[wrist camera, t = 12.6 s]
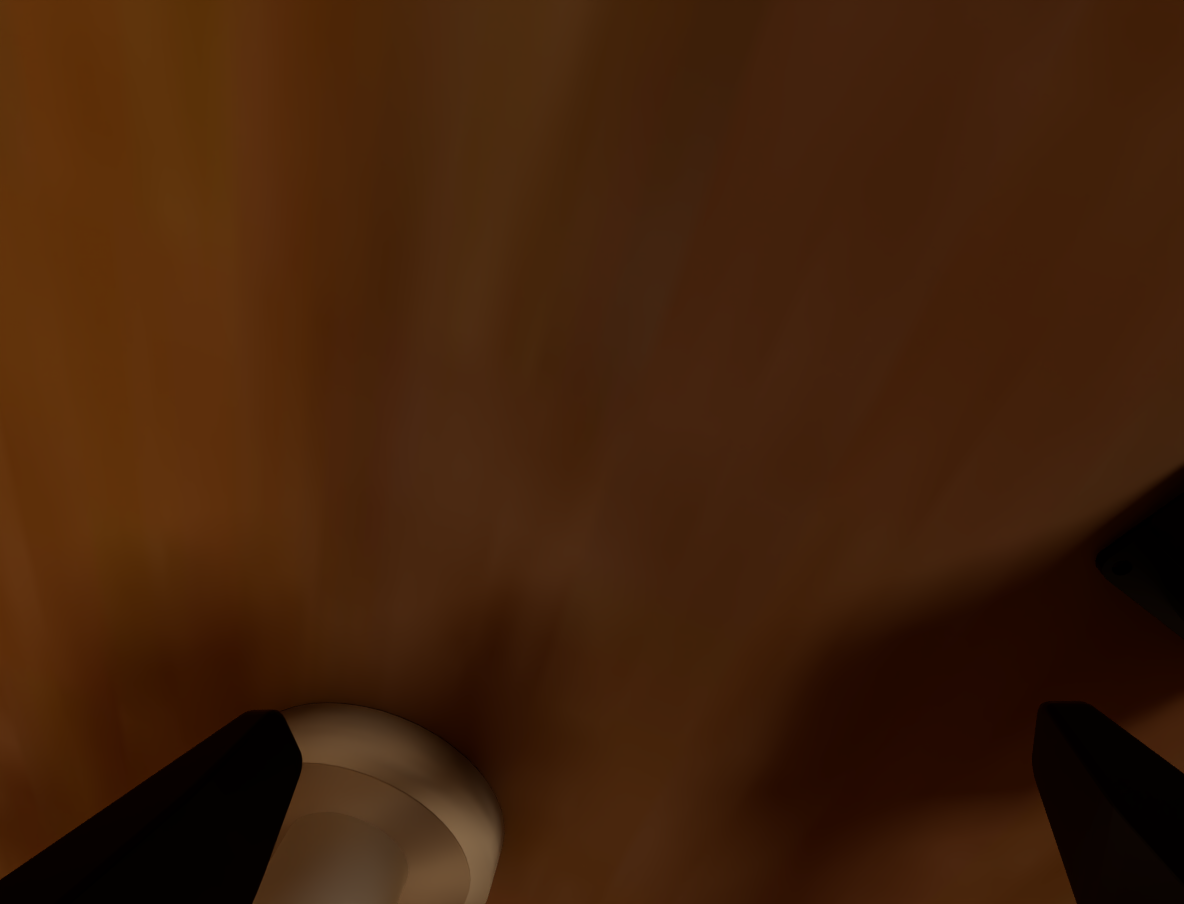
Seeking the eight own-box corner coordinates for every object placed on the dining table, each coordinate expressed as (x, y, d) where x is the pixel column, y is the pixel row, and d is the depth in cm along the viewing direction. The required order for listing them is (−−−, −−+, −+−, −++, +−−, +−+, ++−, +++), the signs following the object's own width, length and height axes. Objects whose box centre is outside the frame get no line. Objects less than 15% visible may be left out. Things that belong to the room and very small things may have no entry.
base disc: (558, 810, 29) (546, 863, 27) (422, 926, 34) (404, 978, 32) (305, 654, 27) (272, 698, 25) (203, 801, 33) (170, 848, 31)
